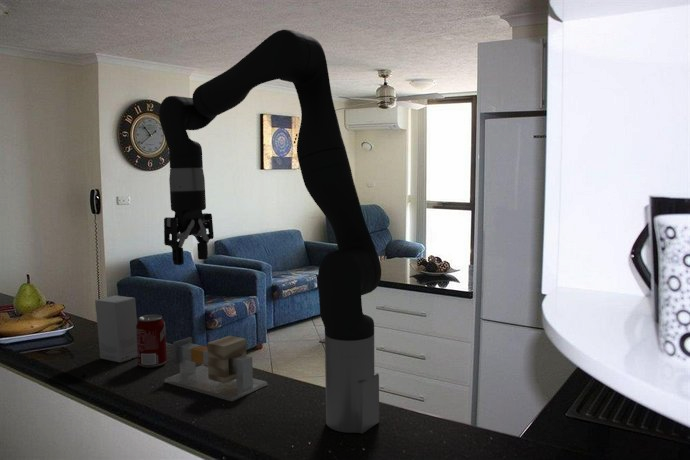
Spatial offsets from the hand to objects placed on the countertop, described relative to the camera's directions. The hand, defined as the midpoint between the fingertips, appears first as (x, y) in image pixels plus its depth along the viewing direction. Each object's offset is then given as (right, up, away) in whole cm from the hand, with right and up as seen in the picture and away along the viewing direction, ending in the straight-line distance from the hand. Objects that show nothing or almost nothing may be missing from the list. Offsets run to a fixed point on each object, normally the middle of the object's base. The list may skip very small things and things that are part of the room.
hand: (191, 261), depth 133 cm
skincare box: (-24, -26, +21) cm, 41 cm away
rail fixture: (+5, -28, +1) cm, 28 cm away
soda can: (-13, -27, +15) cm, 33 cm away
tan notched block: (+8, -25, -1) cm, 27 cm away
